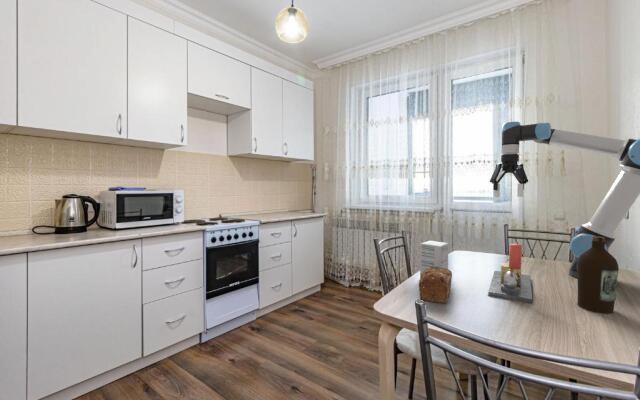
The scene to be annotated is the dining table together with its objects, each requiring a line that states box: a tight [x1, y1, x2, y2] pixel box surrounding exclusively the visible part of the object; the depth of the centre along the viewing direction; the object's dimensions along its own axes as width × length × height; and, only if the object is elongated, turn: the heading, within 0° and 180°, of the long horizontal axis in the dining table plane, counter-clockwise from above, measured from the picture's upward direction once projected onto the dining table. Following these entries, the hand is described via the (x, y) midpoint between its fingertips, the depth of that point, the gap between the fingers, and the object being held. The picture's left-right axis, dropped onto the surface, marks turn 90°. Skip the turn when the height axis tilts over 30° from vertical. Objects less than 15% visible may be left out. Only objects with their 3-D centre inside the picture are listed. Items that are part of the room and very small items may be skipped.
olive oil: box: [577, 236, 620, 314], centre depth 106 cm, size 11×11×25 cm
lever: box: [506, 243, 523, 270], centre depth 122 cm, size 16×4×9 cm, turn 153°
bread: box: [418, 267, 453, 305], centre depth 119 cm, size 19×11×10 cm, turn 152°
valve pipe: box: [487, 261, 533, 304], centre depth 128 cm, size 34×14×11 cm, turn 146°
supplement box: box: [419, 240, 449, 279], centre depth 137 cm, size 10×9×17 cm
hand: (508, 196), depth 152 cm, fingers open, 13 cm apart
